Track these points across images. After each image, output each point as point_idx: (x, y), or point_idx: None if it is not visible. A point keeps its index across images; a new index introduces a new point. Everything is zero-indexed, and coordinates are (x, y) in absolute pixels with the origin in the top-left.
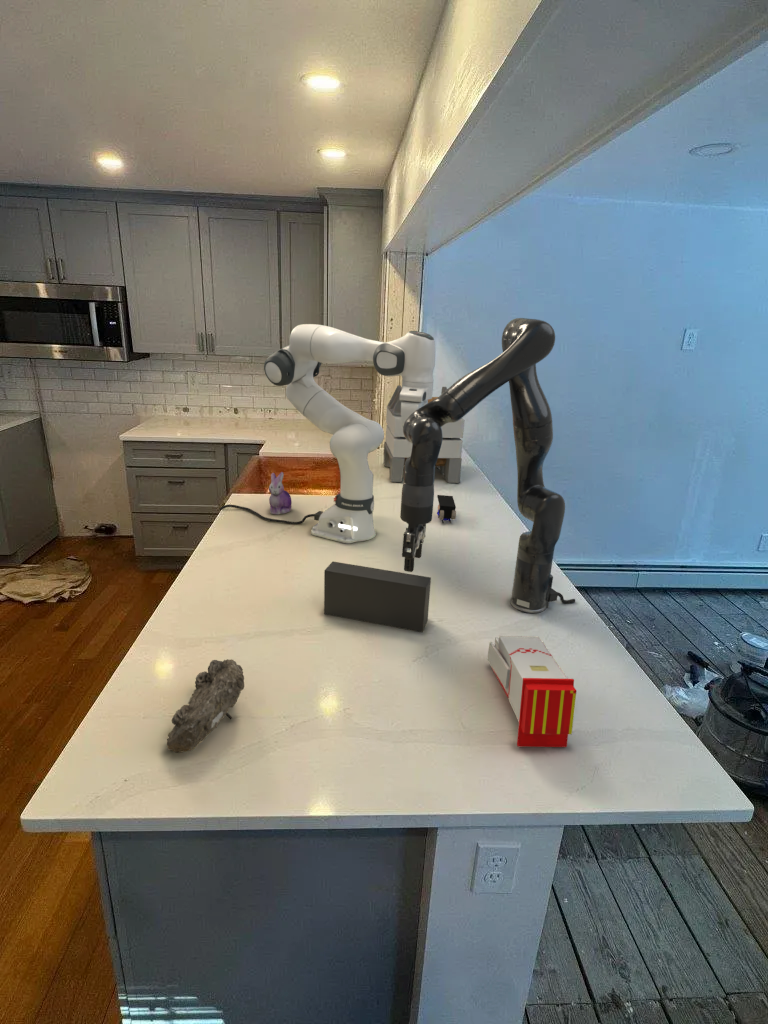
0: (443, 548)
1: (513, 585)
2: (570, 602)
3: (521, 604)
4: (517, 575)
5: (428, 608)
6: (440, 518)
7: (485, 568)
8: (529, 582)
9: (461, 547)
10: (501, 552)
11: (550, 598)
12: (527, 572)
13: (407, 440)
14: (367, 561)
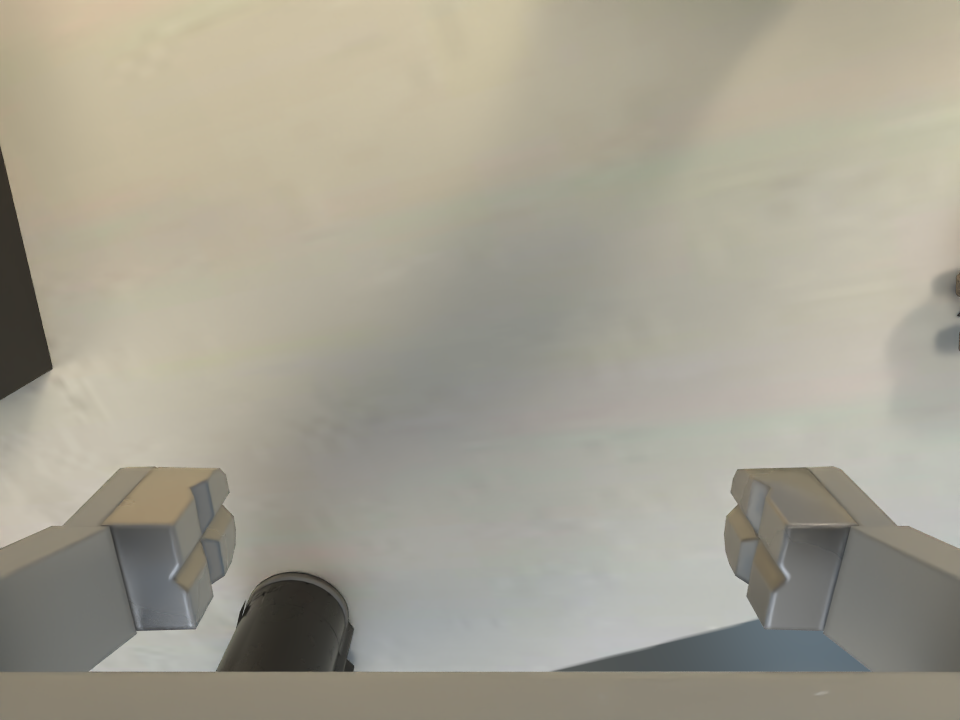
0: (654, 326)
1: (263, 619)
2: None
3: (241, 613)
4: (228, 661)
5: (19, 387)
6: (956, 278)
7: (511, 490)
8: None
9: (684, 392)
10: (673, 529)
11: None
12: None
13: (115, 491)
14: (406, 25)
